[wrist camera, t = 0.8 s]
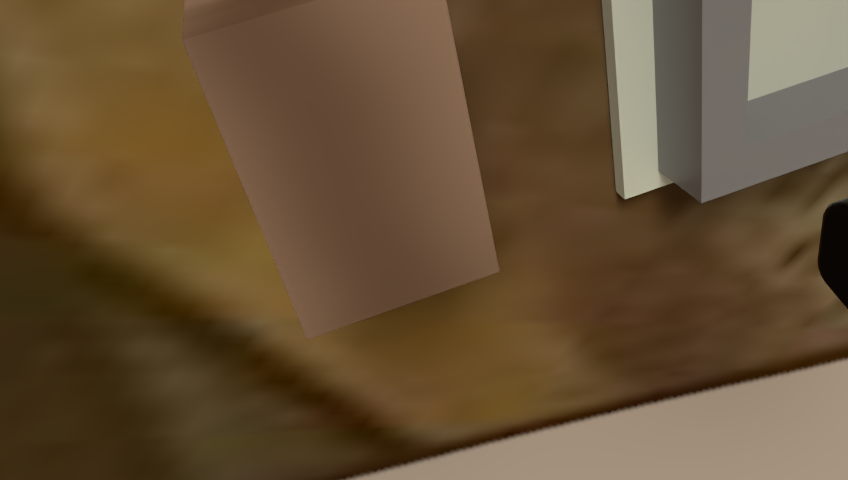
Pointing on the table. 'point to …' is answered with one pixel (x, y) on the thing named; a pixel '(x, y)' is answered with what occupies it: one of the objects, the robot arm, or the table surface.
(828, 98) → the socket board
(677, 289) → the table surface
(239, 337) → the table surface
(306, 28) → the walnut block
